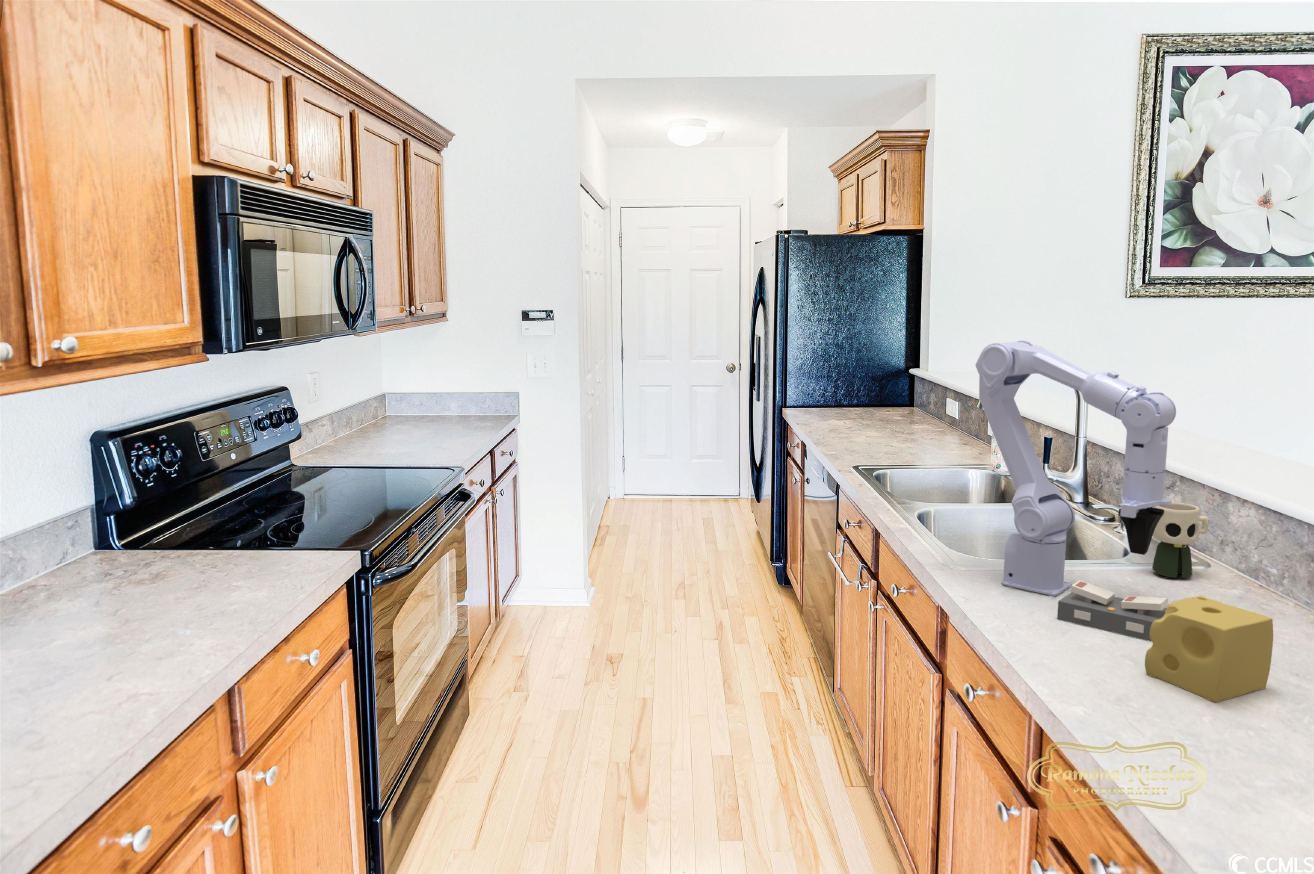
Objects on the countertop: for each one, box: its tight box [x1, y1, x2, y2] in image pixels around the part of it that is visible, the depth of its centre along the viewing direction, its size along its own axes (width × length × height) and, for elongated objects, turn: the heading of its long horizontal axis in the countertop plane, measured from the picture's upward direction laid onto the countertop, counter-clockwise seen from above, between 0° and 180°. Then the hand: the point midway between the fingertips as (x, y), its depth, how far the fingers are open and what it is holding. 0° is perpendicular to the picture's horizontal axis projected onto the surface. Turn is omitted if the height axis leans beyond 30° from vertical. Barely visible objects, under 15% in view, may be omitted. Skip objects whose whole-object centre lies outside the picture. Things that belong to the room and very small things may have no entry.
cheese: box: [1144, 595, 1274, 703], centre depth 115 cm, size 10×11×10 cm
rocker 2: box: [1121, 595, 1169, 611], centre depth 133 cm, size 6×4×1 cm, turn 45°
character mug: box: [1151, 501, 1209, 579], centre depth 158 cm, size 11×7×13 cm, turn 82°
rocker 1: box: [1069, 580, 1116, 605], centre depth 139 cm, size 6×4×1 cm, turn 46°
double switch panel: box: [1057, 591, 1167, 642], centre depth 136 cm, size 15×8×4 cm, turn 45°
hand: (1138, 552), depth 140 cm, fingers closed
